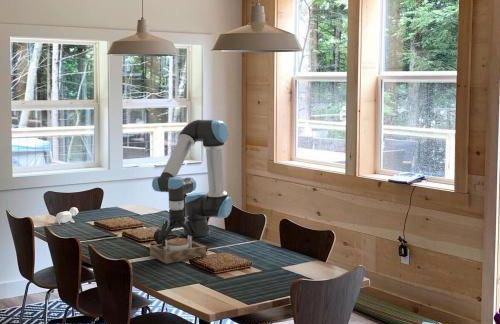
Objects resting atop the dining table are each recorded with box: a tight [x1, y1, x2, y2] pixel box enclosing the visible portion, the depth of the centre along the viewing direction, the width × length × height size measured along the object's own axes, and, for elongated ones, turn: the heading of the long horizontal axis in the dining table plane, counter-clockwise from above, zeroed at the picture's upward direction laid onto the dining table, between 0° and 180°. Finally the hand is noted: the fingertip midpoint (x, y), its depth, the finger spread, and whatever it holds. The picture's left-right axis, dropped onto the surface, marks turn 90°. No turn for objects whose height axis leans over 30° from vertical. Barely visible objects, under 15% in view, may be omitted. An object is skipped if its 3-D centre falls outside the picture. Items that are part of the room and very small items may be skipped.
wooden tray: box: [149, 240, 207, 264], centre depth 363 cm, size 22×18×5 cm
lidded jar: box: [167, 237, 188, 252], centre depth 363 cm, size 11×11×9 cm
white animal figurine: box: [53, 206, 79, 226], centre depth 443 cm, size 9×8×15 cm
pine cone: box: [153, 227, 179, 245], centre depth 381 cm, size 10×18×10 cm, turn 43°
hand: (177, 250), depth 363 cm, fingers open, 13 cm apart
